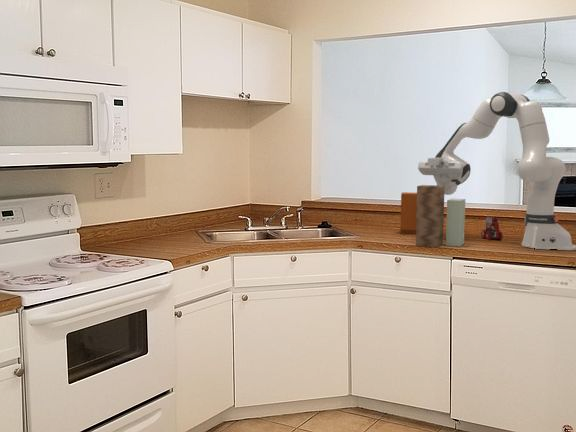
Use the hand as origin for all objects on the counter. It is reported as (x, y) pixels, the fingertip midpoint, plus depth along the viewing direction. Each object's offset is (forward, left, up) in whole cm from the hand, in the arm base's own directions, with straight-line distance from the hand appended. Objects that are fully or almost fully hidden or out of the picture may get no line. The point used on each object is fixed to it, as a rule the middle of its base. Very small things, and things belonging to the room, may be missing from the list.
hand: (437, 160), depth 309 cm
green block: (-10, +6, -37) cm, 39 cm away
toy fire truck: (-22, -20, -37) cm, 48 cm away
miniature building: (+18, -23, -37) cm, 47 cm away
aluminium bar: (0, +3, -2) cm, 4 cm away
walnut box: (0, +12, -37) cm, 39 cm away
